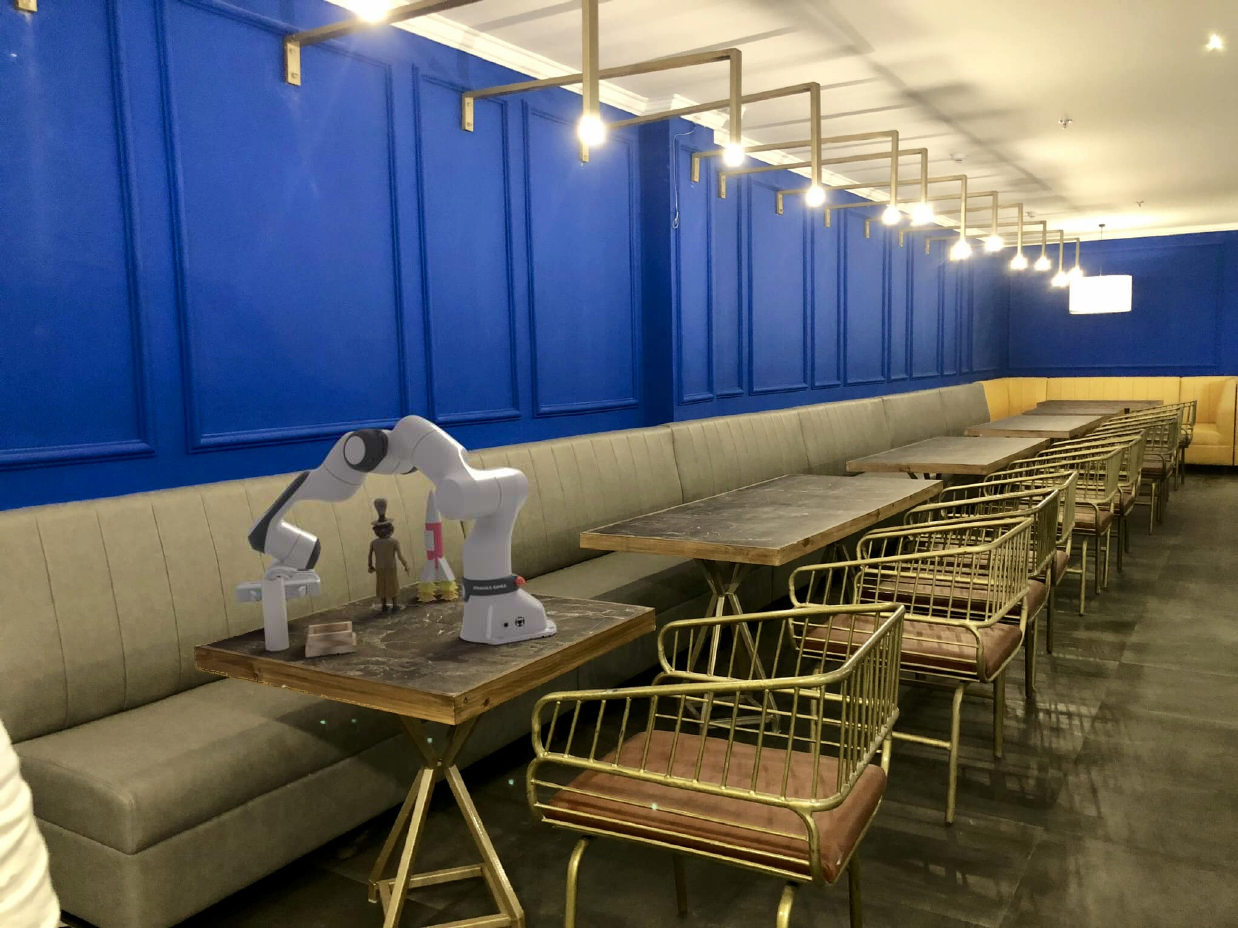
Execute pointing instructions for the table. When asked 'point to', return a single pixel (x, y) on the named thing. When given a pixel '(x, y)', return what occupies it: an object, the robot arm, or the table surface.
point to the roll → (274, 614)
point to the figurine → (386, 559)
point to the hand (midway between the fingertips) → (277, 596)
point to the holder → (330, 639)
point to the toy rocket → (435, 558)
